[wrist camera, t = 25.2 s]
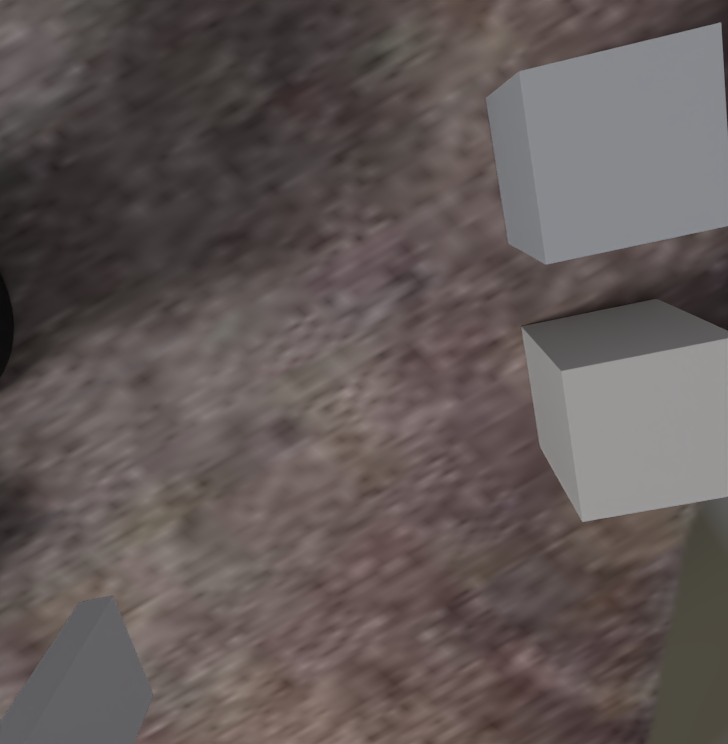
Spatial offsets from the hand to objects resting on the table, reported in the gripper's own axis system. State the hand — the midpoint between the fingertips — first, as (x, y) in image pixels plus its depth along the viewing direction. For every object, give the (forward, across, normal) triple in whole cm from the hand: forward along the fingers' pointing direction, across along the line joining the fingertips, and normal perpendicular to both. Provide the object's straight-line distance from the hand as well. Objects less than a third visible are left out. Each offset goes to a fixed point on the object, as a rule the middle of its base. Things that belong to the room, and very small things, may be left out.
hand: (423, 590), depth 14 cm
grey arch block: (+29, +13, +6) cm, 32 cm away
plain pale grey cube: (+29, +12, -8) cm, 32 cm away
